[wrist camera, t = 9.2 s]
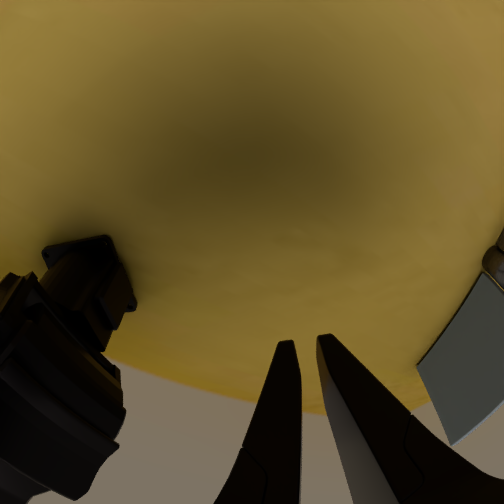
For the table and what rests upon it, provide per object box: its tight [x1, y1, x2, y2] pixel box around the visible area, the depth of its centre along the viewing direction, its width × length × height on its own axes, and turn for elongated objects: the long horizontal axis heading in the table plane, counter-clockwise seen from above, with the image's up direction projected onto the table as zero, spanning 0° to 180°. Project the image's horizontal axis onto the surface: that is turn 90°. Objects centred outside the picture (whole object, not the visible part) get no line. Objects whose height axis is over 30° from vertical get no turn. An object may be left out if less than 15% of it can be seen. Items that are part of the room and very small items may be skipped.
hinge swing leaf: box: [417, 273, 504, 446], centre depth 20 cm, size 16×3×11 cm, turn 165°
